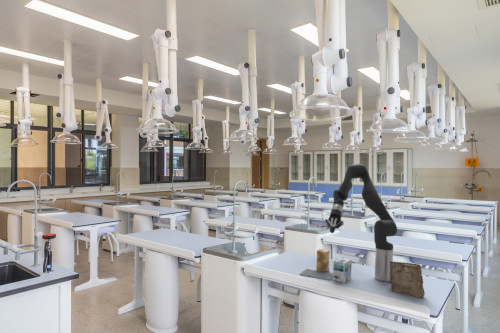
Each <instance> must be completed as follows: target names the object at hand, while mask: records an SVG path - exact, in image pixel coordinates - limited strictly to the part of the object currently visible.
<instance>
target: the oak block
mask: <svg viewBox="0 0 500 333" xmlns="http://www.w3.org/2000/svg"><path fill="white" fill-rule="evenodd" d="M315 270H317V271H322V272H328V271H329V270H330V250H329V249H324V248H319V249H318V250H316V267H315Z"/></svg>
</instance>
